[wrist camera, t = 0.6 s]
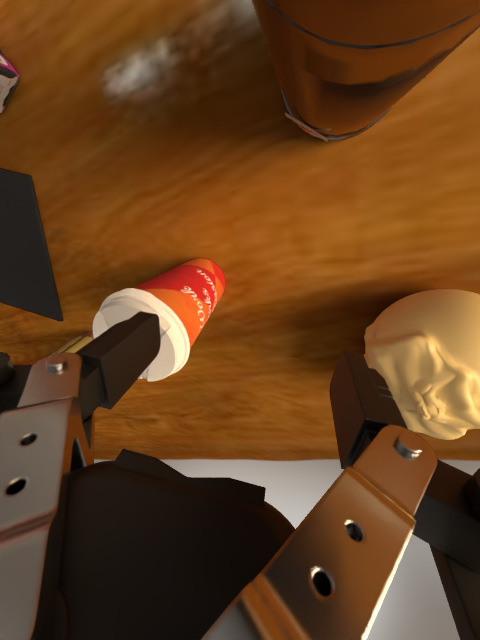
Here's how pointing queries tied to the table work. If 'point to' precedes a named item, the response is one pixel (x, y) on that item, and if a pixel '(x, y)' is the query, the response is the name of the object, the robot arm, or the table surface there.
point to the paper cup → (168, 310)
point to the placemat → (24, 250)
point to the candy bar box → (6, 81)
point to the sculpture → (431, 359)
